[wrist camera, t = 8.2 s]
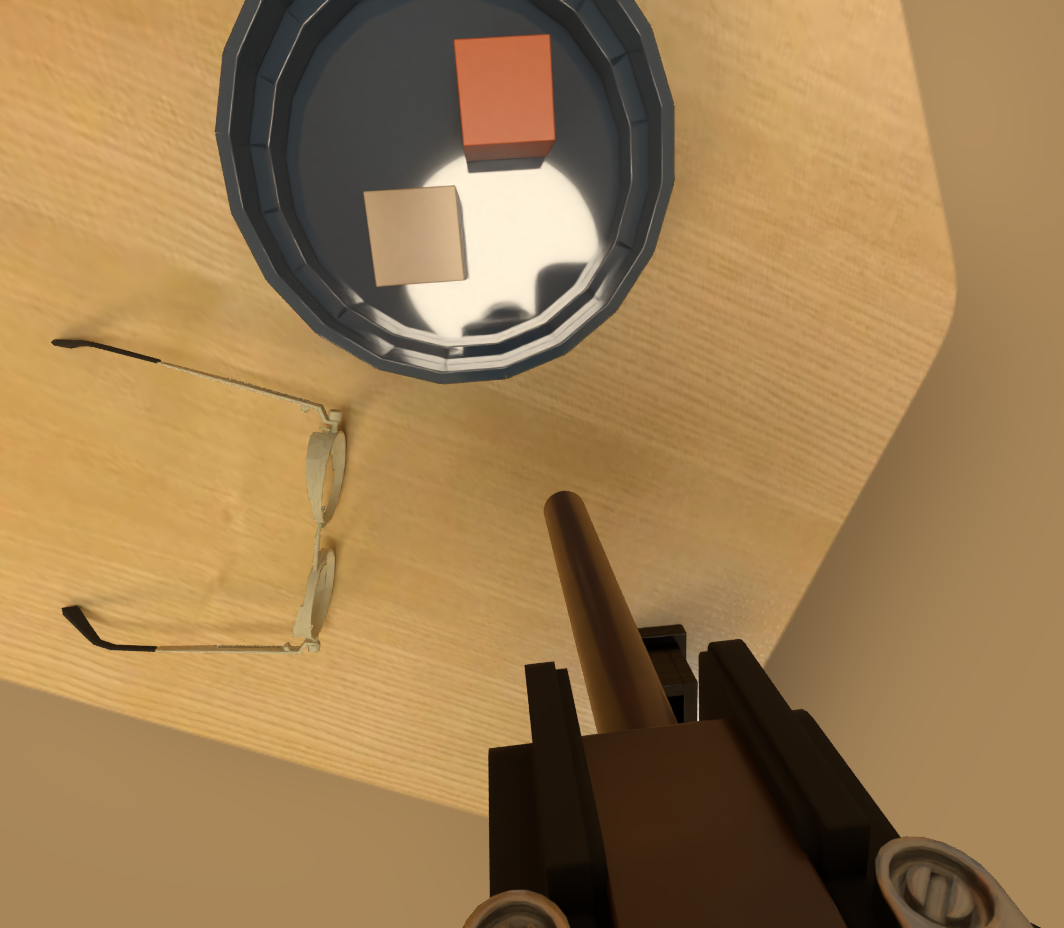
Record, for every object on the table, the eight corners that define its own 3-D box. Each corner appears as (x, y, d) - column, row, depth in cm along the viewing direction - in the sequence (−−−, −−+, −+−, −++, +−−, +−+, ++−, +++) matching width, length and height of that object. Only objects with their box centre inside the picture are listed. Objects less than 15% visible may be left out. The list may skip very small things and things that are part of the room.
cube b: (459, 195, 31) (455, 185, 27) (467, 279, 32) (464, 280, 28) (378, 200, 31) (362, 191, 27) (389, 285, 32) (376, 287, 28)
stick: (596, 472, 21) (898, 1012, 6) (601, 537, 22) (877, 1170, 6) (525, 479, 21) (639, 1049, 6) (532, 545, 22) (646, 1208, 6)
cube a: (541, 63, 30) (550, 33, 26) (547, 156, 31) (555, 140, 27) (457, 68, 29) (453, 38, 26) (466, 161, 31) (463, 146, 27)
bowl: (643, -65, 29) (674, -131, 24) (648, 352, 35) (675, 365, 30) (220, -45, 28) (166, -109, 23) (298, 380, 34) (267, 398, 29)
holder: (681, 624, 40) (708, 671, 35) (681, 690, 41) (707, 744, 37) (604, 631, 40) (620, 681, 35) (607, 698, 41) (622, 753, 36)
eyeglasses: (328, 646, 39) (306, 699, 34) (65, 617, 37) (2, 669, 32) (354, 376, 34) (333, 393, 29) (54, 327, 32) (-21, 337, 27)
